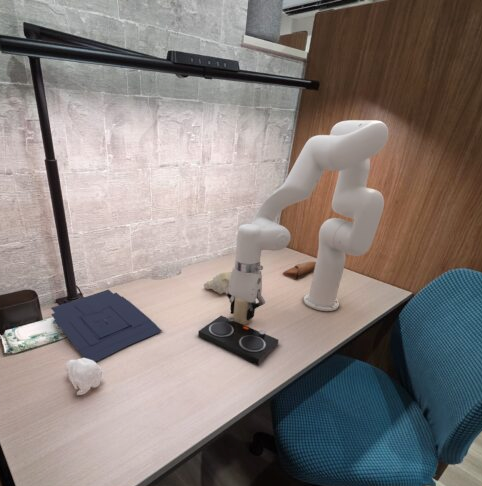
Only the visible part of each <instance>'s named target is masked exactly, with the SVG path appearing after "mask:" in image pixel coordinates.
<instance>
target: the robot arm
mask: <svg viewBox="0 0 482 486" xmlns="http://www.w3.org/2000/svg"><path fill="white" fill-rule="evenodd" d="M389 134H390V132H389V128H388V126H387V125H386V123H385V122H383V121H381V120H374V119H373V120H370V119H369V120H368V119H367V120H365V119H364V120H362V119H361V120H359V119H352V120H351V119H350V120H342V121H339V122H337V123H335V125H333V126H332V128H331V130H330V133H329V134H319V135H318V134H317V135H314V136H311V137H310V138H309V139H308V140H307V141H306V142H305V144H304V145H303V147H302V149H301V151H300V153H299V155H298V157H297V158H296V160H295V162H294V164H293V166H292V168H291V170H290V171H289V173H288V175H287V177H286V179H285V181H283V184H282V185H281V186H280V187H278V188H277V189H276V190H274V191H273V192H272V193H271V194H269V196H267V197H266V198H265V200H264V201H263V202H262V203H261V205H260V206H259V208H258V209H257V211H256V213H255V214H254V217H253V219H252V221H251V223H243V224H240V225H239V227H238V228H237V234H236V246H235V259H234V266H233V267H232V269H231V271H230V272H231V276H230V281H229V285H228V286H227V287H225V288H224V291H225V293H224V294H226V297H227V298H228V299H229V303H230V308H229V309H230V315H234V304H235V297H237V298H241V299H243V300H245V301H248V304H249V309H248V311H247V320H248V321H249V322H250V320H252V319H253V318H254V317H255V311H256V309H258V308H259V307H261V306H264V305H265V304H266V300H265V299H264V297H263V295H262V293H263V292H262V291H263V274H262V270H263V269H264V266H263V265H262V264H261V256H262V251H272V252H273V251H276V252H277V251H281V250H284V249H285V248H286V247H288V245H289V244H290V242H291V239H292V238H291V237H292V235H291V233H290V230H288V229H287V227H285V226H284V225H282V224H279V223H277V222H275V220H276V218H277V217H278V216H279V214H280V213H281V212H282V211H283V210H284V209H286V208H287V207H289V206H291V205H294V204H298V203H300V202H303V201H306V200H308V199H309V198H310V197H311V196H312V194H313V192H314V190H315V189H316V187H317V185H318V183H319V182H320V180H321V179H322V176H323V175H324V173H325V172H326V171H331V172H338V177H337V180H336V184H335V187H334V192H333V196H332V200H331V210H332V211H333V212H334V213H336V214H338V215H339V216H340V215H341V216H343V217H346V218H350V219H351V220H353V222H352V221H350V220H348V219H343V218H339V217H332V218H328V219H327V220H325V221H323V223H322V224H321V226H320V228H319V231H318V250H317V255H316V259H315V260H316V261H315V262H316V264H315V269H314V271H313V275H312V278H311V284H310V288H309V293H307V294H305V295H304V296H303V302H304V304H305V305H306V306H307V307H309V308H311V309H314V310H317V311H320V312H321V311H322V312H333V311H335V310H337V309H338V308H339V306H340V303H339V301H338V299H337V297H338V292H339V288H340V284H341V281H342V277H343V273H344V269H345V266H346V261H347V256H346V254H347V255H349V256H352V257H361V256H363V255H365V254H366V253H368V251H369V249H370V248H371V246H372V244H373V242H374V240H375V236H376V234H377V230H378V228H379V224H380V221H381V218H382V215H383V212H384V207H385V198H384V196H383V193H381V191H379V190H377V189H373V188H371V187H367V182H368V179H369V175H370V171H371V161H370V159H371V158H372V157H373V158H374V157H375V156H376V155H377V154H379V153H380V152H381V151H382V150H383V149H384V147H385V146H386V144H387V142H388V140H389V136H390V135H389ZM257 301H258V302H257Z"/></svg>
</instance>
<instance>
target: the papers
mask: <svg viewBox="0 0 482 486" xmlns="http://www.w3.org/2000/svg"><path fill="white" fill-rule="evenodd" d="M50 309H51V310H52V311H53V313H51V314H50V315H51V316H52V317H53V321H54V322H55V324H56V325H57V326H58V328H59V329H60V330H61V332H63V334H64V335H65V336H66V337H67V338H68V340H69V341H70V343H72V345H73V346H74V348H76V350H77V351H78V352H79V353H80V355H81V356H82V358H87V359H90V360H93V361H94V362H96V363H97V362H98V361H100V360H103V359H105V358H106V357H108V356H110V355H112V354H114V353H116V352H119V351H120V350H122V349H124V348H126V347H128V346H130V345H133V344H136V343H137V342H140V341H143V340H144V339H147V338H149V337H152V336H154V335H156V334H159V333H161V332H163V330H162V329H161V328H160V327H159V326H158V325H157V324H156V323H155V322H154V321H153V320H152V319H151V318H150V317H149V316H147V314H145V313H144V312H143V311H142V310H141V309H139V308H138V307H137V306H135V305H134V304H133V303H132V302H131V301H130V300H128V299H127V298H125V297H124V296H121V295H120V293H117V292H112V291H111V290H110V289H109V288H108V289H106V290H102V291H99V292H96V293H94V294H91V295H87V296H84V297H81V298H78V299H75V300H72V301H69V302H65V303H62V304H59V305H56V306H52V307H50Z"/></svg>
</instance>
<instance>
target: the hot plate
mask: <svg viewBox="0 0 482 486" xmlns="http://www.w3.org/2000/svg"><path fill="white" fill-rule="evenodd" d="M197 336H198V337H199V338H200V339H202V340H204V341H206V342H208V343H210V344H212V345H214V346H216V347H218V348H221V349H223V350H225V351H227V352H228V353H231V354H233V355H234V356H238V357H239V358H241V359H243V360H246V361H247V362H249V363H251V364H253V365H255V366H260V364H262V362H264V360H266V358H267V357H268V356H269V355H270V354H271V353H272V352H273V351H274V350H275V349H276V348H277V347H278V346H279V338H276V337H274V336H271V335H269V334H267V333H266V331H265V330H263V329H260V330H257V329H255V328H252V327H249V326H247V325H246V324H240V323H238V322H235V319H234V318H233V317H225V316H223V315H220V316H218V317H217V318H215V319H214V320H212V321H211V322H209V323H208V324H206V325H204V327H202V328H200V329H199V330H198V335H197Z"/></svg>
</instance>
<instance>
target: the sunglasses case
mask: <svg viewBox="0 0 482 486" xmlns="http://www.w3.org/2000/svg"><path fill="white" fill-rule="evenodd" d="M315 264H316V261H308V262H303V263H298V264H295V266H293V267H291V268H288V269H287V270H284V271H283V272H282V275H284V276H286V277H288V278H290V279H292V280H295V281H296V280H299V279H301V278H302V277H304V276H305V275H307V274H309V273H312V272H314V269H315Z"/></svg>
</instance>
